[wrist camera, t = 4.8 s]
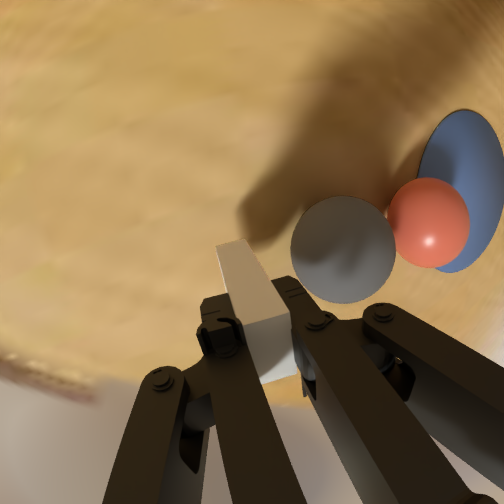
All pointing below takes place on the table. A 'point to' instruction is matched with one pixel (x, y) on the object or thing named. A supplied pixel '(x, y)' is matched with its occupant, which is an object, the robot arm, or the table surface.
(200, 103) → the table surface
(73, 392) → the table surface
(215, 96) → the table surface
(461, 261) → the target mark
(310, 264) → the grey ball
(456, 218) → the red ball
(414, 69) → the table surface
